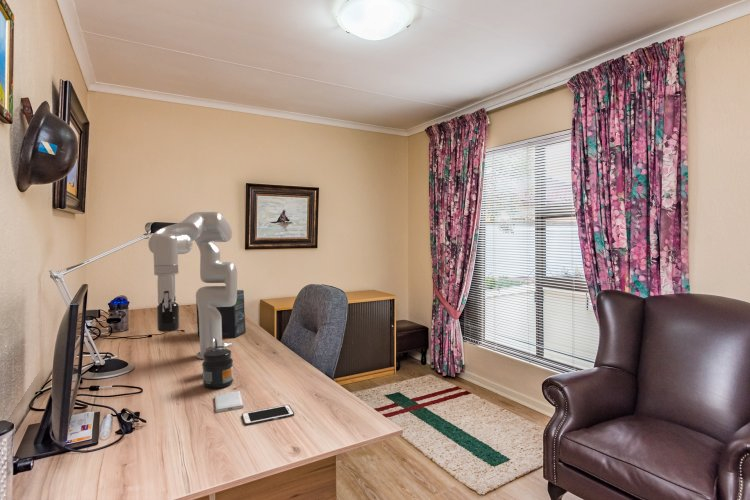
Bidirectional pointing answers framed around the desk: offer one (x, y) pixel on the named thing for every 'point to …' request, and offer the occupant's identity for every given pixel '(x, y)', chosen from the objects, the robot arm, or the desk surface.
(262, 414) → the cell phone
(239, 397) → the hard drive
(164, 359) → the desk surface
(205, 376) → the supplement container
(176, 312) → the supplement bottle
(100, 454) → the desk surface
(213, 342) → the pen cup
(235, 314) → the headset box
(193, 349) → the desk surface
